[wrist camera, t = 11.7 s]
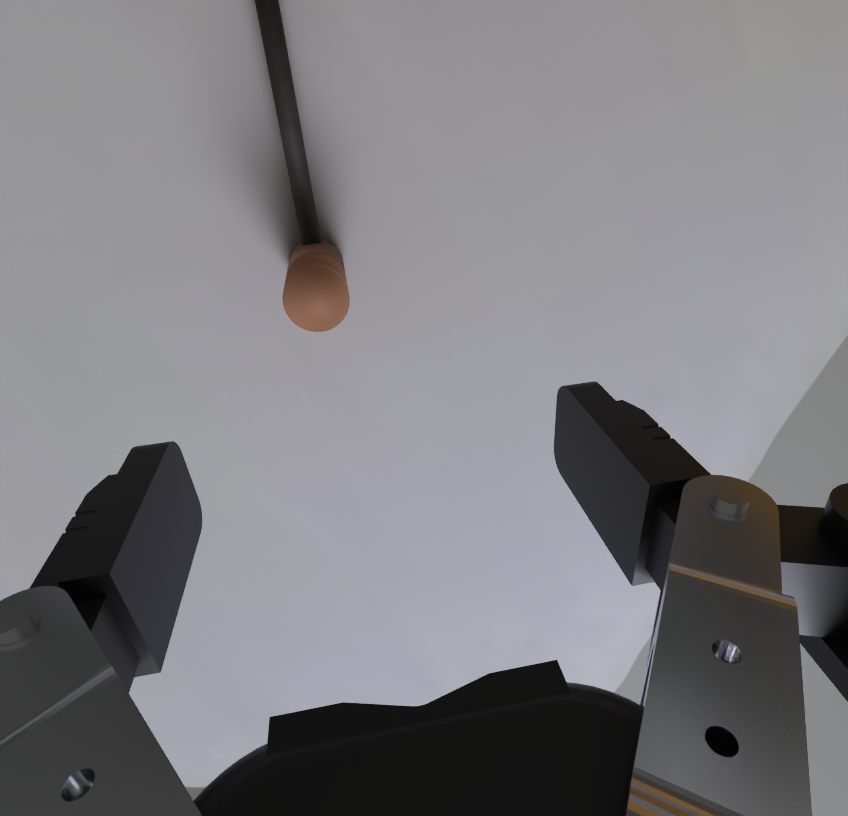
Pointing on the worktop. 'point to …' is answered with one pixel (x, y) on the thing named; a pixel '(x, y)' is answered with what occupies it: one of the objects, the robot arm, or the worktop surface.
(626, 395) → the worktop surface
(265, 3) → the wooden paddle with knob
